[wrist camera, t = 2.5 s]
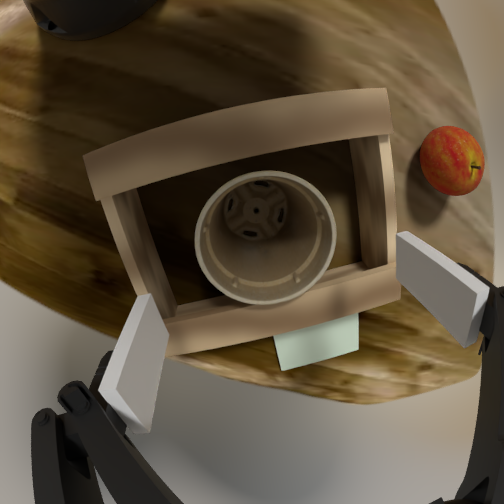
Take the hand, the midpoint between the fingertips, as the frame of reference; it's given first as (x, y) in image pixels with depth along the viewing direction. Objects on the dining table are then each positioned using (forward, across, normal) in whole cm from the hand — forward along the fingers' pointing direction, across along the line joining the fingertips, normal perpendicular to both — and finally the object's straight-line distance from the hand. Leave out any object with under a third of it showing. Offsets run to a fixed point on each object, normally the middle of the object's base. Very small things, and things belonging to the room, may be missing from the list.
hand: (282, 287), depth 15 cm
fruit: (+14, +20, +2) cm, 25 cm away
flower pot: (+14, 0, 0) cm, 14 cm away
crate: (+14, 0, 0) cm, 14 cm away
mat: (+14, +4, -14) cm, 20 cm away
